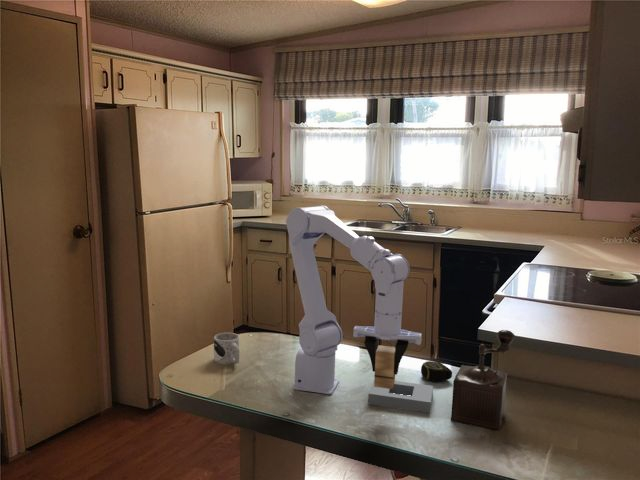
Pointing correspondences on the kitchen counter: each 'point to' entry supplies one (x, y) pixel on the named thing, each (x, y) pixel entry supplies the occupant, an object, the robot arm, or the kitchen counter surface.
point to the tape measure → (435, 371)
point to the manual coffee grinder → (481, 390)
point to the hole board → (403, 396)
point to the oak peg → (384, 367)
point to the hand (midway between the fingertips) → (385, 371)
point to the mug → (226, 348)
